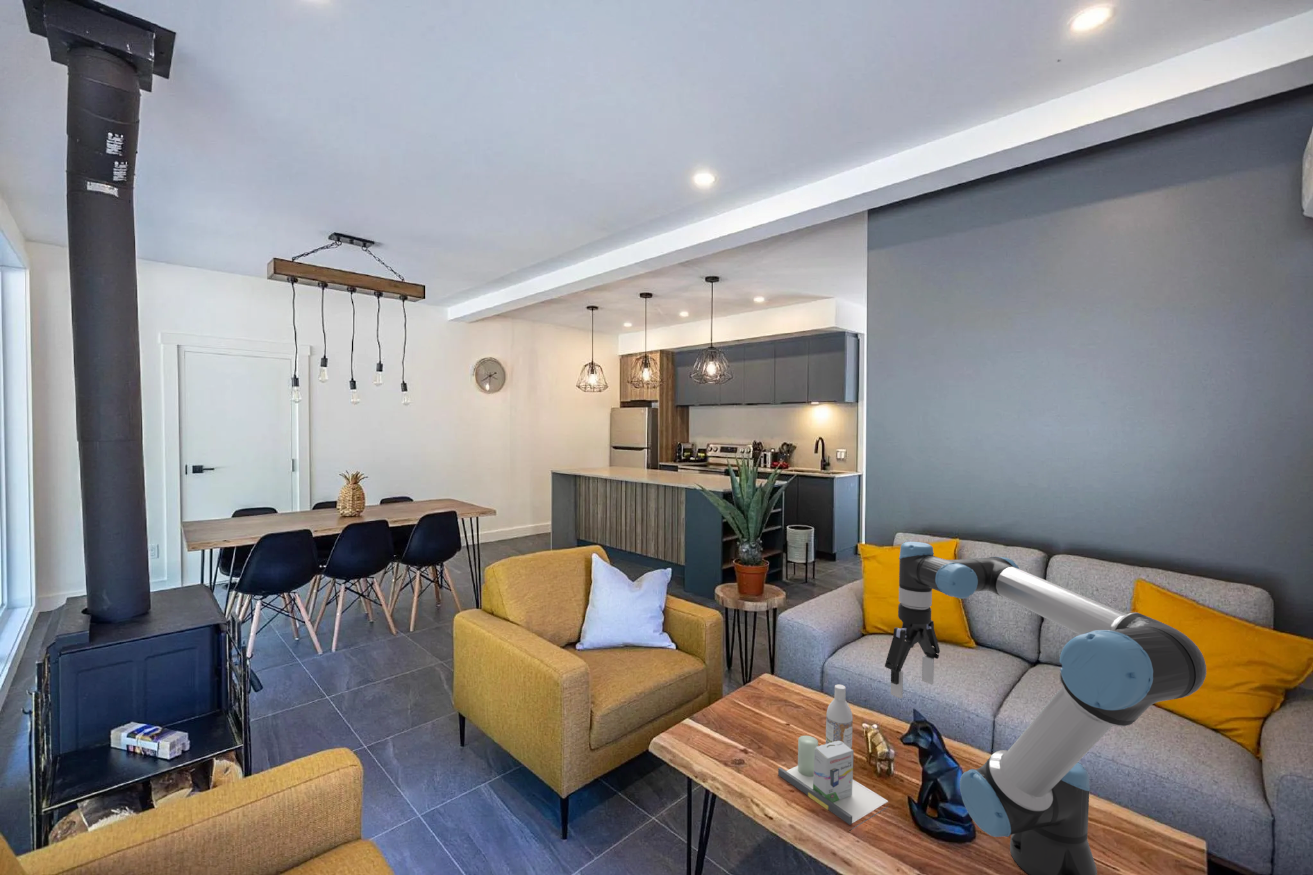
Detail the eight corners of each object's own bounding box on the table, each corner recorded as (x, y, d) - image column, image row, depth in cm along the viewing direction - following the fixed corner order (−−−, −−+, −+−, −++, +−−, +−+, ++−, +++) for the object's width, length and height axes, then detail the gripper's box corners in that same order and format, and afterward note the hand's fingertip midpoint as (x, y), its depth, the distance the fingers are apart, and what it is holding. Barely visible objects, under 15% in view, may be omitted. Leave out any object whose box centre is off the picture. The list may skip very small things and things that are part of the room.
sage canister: (821, 772, 150) (822, 742, 149) (808, 778, 147) (809, 748, 147) (806, 762, 154) (807, 733, 154) (793, 768, 151) (794, 739, 151)
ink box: (838, 784, 145) (839, 738, 144) (853, 796, 140) (854, 749, 140) (811, 793, 141) (812, 746, 141) (826, 806, 136) (827, 757, 136)
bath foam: (840, 767, 154) (842, 694, 154) (820, 755, 160) (821, 684, 160) (856, 759, 158) (858, 688, 158) (836, 747, 164) (838, 678, 163)
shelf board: (888, 807, 139) (888, 794, 139) (849, 831, 130) (849, 817, 130) (815, 761, 157) (816, 750, 157) (777, 780, 148) (777, 768, 148)
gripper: (928, 593, 153) (925, 671, 153) (871, 609, 139) (868, 695, 139) (956, 600, 147) (953, 682, 147) (899, 618, 132) (896, 708, 133)
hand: (912, 689), depth 143 cm, fingers open, 13 cm apart
